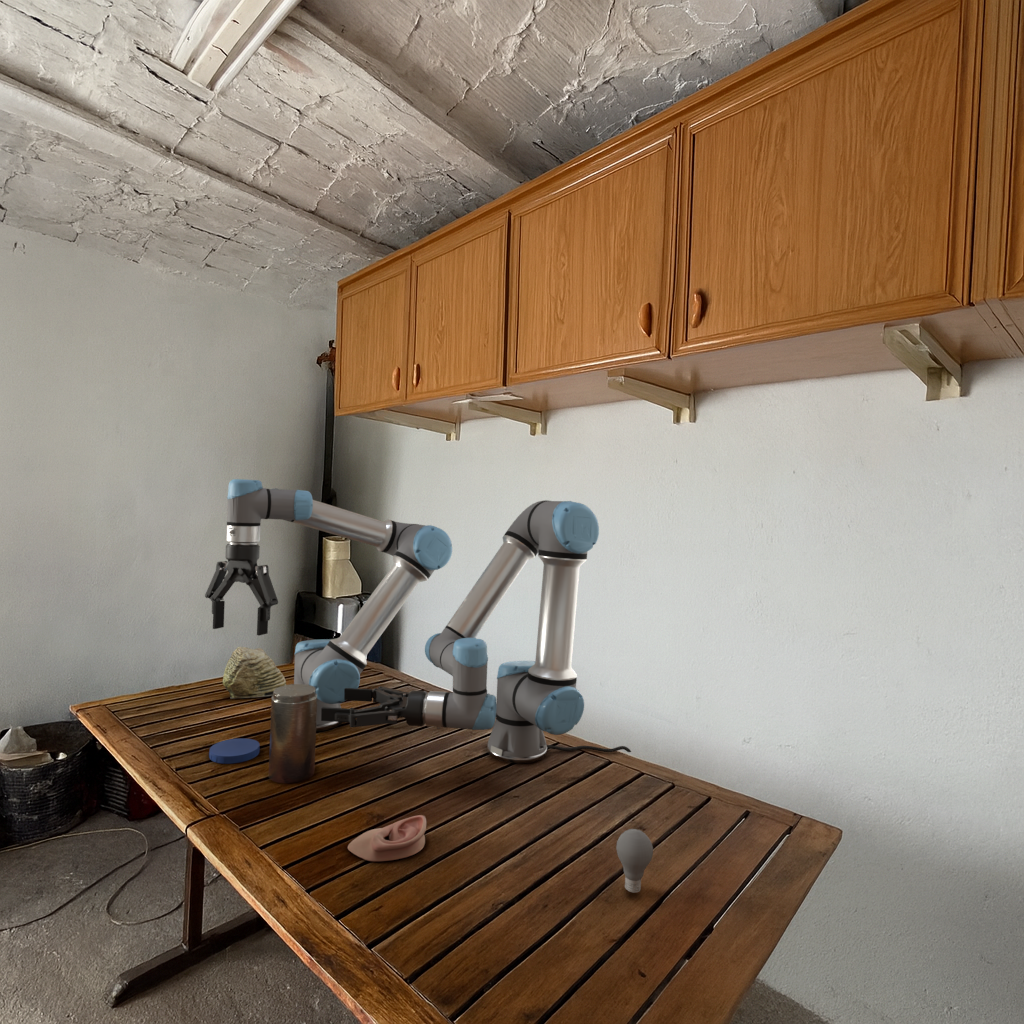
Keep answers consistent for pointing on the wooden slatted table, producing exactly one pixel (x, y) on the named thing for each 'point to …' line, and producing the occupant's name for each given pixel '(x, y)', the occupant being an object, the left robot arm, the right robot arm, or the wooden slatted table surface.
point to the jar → (293, 733)
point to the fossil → (251, 674)
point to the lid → (234, 750)
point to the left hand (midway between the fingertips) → (239, 631)
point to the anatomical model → (391, 840)
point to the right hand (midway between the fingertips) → (333, 703)
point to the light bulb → (634, 857)
